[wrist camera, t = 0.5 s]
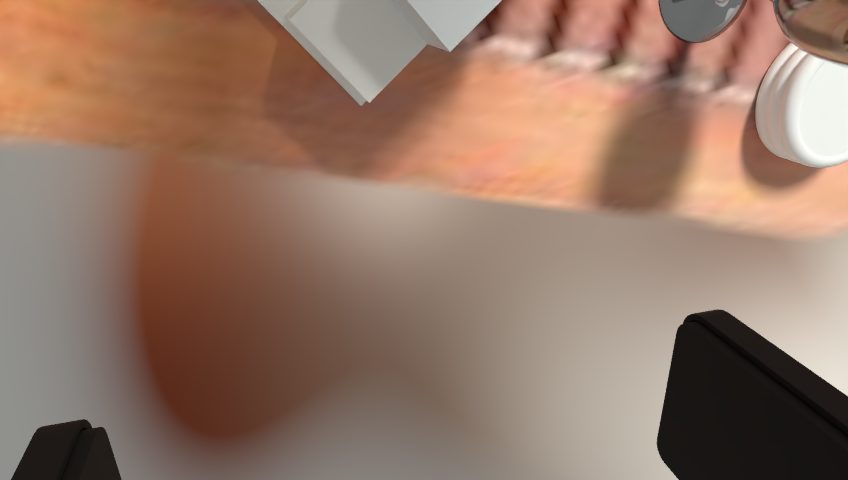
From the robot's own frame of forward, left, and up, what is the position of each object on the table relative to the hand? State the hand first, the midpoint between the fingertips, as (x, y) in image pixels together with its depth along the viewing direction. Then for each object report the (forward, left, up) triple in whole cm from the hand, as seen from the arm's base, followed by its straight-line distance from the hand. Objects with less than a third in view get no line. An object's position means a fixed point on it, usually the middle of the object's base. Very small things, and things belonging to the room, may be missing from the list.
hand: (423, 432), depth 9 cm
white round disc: (-28, +26, -30) cm, 48 cm away
